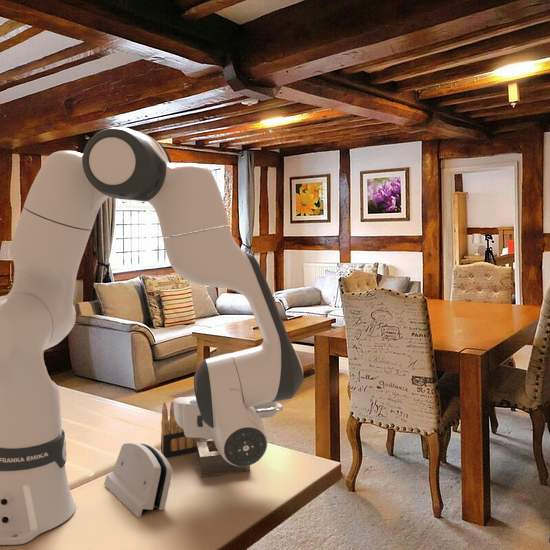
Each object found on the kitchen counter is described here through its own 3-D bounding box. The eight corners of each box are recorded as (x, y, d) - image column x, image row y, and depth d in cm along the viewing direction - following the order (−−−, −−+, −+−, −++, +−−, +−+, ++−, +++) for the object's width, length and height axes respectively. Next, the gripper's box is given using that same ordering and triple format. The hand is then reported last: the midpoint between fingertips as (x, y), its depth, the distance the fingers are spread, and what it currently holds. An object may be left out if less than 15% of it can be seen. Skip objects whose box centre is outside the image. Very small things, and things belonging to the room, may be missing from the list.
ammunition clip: (163, 458, 123) (161, 404, 122) (160, 455, 124) (158, 402, 123) (210, 449, 128) (208, 396, 127) (207, 446, 129) (205, 394, 128)
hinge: (103, 483, 111) (117, 432, 112) (125, 485, 114) (139, 435, 115) (138, 518, 98) (155, 460, 99) (162, 518, 101) (178, 462, 102)
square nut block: (200, 476, 114) (200, 456, 113) (196, 456, 123) (195, 438, 123) (250, 470, 116) (249, 451, 116) (241, 451, 126) (241, 434, 125)
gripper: (285, 394, 108) (269, 375, 121) (175, 404, 103) (171, 384, 117) (285, 426, 108) (270, 404, 122) (176, 438, 104) (172, 414, 117)
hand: (221, 394), depth 119 cm, fingers closed on pin, 4 cm apart
